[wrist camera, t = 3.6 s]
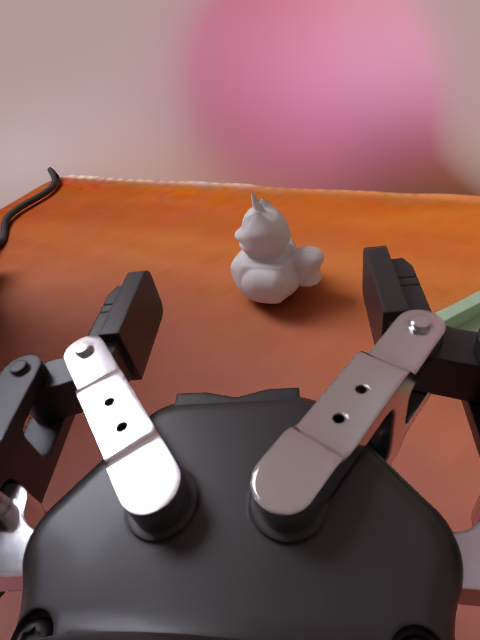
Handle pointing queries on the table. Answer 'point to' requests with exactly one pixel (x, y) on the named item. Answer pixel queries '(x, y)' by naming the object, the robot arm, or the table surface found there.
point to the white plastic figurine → (271, 257)
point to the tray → (463, 314)
